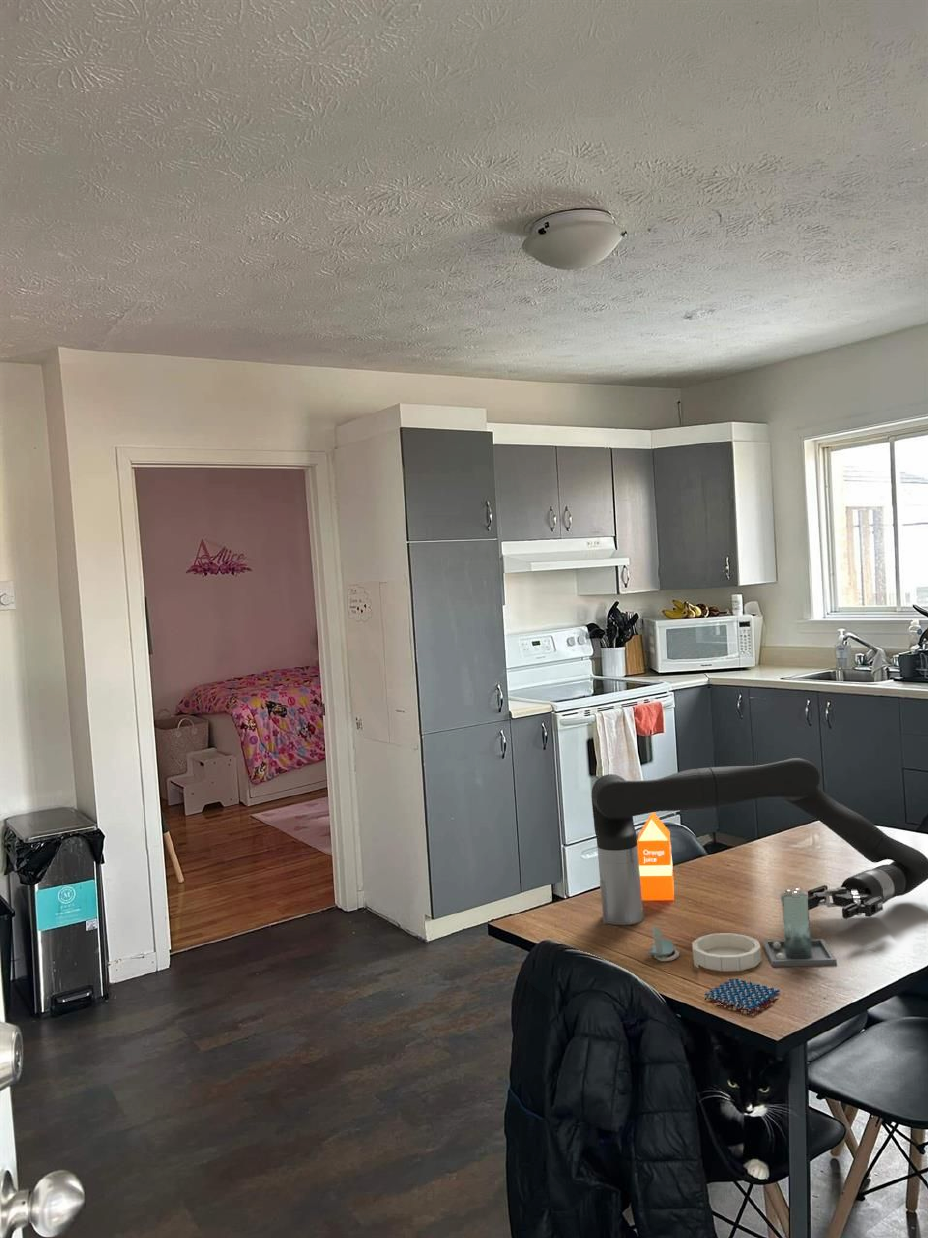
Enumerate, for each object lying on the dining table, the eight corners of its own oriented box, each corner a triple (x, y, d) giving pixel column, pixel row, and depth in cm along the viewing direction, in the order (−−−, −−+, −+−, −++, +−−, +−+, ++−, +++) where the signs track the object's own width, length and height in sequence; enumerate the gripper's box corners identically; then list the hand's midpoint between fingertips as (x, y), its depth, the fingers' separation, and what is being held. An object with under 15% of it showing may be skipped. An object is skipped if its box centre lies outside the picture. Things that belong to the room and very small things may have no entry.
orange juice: (641, 900, 235) (634, 819, 235) (643, 889, 243) (637, 810, 243) (674, 900, 233) (667, 818, 233) (675, 888, 242) (668, 809, 241)
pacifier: (684, 953, 200) (657, 948, 203) (682, 924, 200) (655, 919, 203) (670, 966, 194) (643, 961, 197) (669, 935, 194) (641, 931, 197)
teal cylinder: (788, 960, 189) (782, 894, 189) (783, 950, 194) (778, 886, 194) (814, 959, 188) (809, 893, 188) (809, 950, 193) (803, 885, 193)
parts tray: (772, 970, 187) (771, 957, 186) (763, 949, 197) (762, 937, 197) (837, 969, 185) (836, 955, 185) (824, 947, 196) (823, 935, 196)
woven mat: (754, 1020, 168) (753, 1009, 168) (702, 1005, 176) (701, 994, 176) (785, 1000, 174) (784, 989, 174) (734, 986, 182) (733, 975, 182)
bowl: (697, 976, 187) (695, 958, 187) (691, 951, 200) (689, 934, 200) (766, 974, 185) (764, 956, 185) (755, 949, 198) (754, 932, 198)
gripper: (836, 867, 212) (793, 884, 203) (898, 878, 201) (855, 898, 191) (839, 900, 213) (795, 920, 203) (901, 914, 201) (858, 935, 191)
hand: (824, 909), depth 197 cm, fingers open, 8 cm apart
